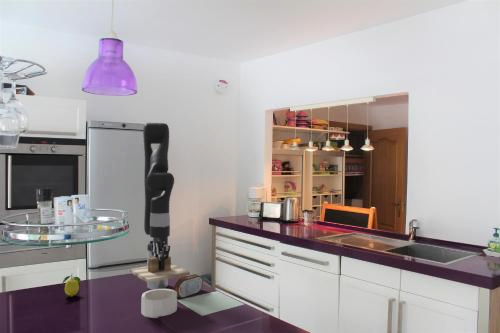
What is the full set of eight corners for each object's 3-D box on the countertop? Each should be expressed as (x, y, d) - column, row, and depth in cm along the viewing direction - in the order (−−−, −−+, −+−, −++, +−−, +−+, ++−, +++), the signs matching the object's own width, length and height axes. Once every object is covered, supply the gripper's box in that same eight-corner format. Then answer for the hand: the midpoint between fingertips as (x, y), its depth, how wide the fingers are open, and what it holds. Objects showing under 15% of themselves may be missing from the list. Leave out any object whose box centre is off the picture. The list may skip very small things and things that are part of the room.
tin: (199, 290, 177) (199, 271, 177) (204, 292, 175) (204, 273, 175) (173, 299, 165) (173, 279, 165) (178, 301, 163) (178, 280, 163)
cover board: (129, 272, 153) (129, 256, 153) (169, 265, 164) (169, 250, 164) (147, 282, 140) (147, 265, 140) (189, 274, 150) (189, 258, 150)
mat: (176, 301, 162) (176, 300, 162) (217, 292, 174) (217, 291, 174) (201, 317, 146) (201, 315, 146) (244, 305, 159) (244, 304, 159)
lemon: (61, 299, 163) (62, 275, 163) (63, 295, 169) (63, 272, 169) (79, 298, 165) (79, 274, 165) (80, 293, 171) (80, 270, 171)
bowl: (136, 309, 153) (136, 293, 153) (167, 302, 161) (167, 286, 161) (150, 320, 143) (150, 302, 143) (182, 312, 151) (182, 295, 151)
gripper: (143, 222, 155) (143, 266, 155) (158, 227, 144) (158, 274, 144) (161, 221, 160) (160, 263, 160) (177, 225, 148) (176, 271, 149)
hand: (159, 268), depth 152 cm, fingers closed on cover board, 3 cm apart
